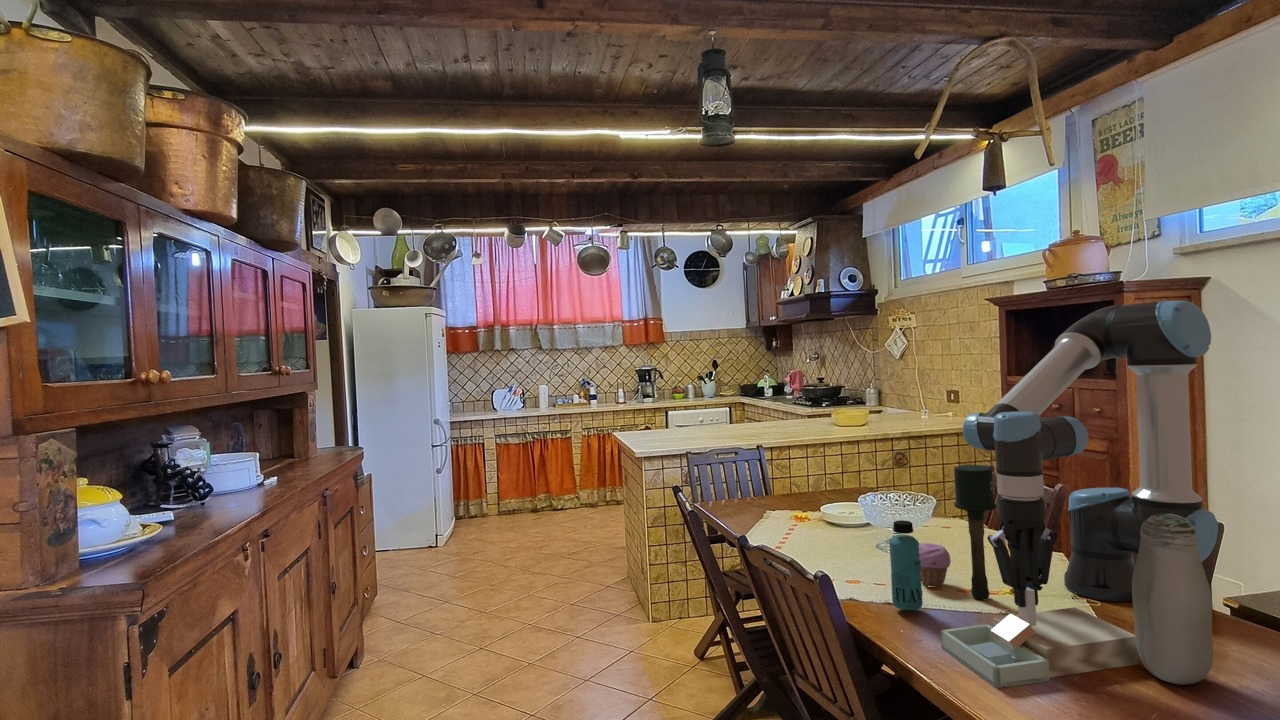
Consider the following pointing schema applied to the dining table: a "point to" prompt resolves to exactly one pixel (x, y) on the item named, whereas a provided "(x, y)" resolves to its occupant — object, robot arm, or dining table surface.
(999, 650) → the tile slate
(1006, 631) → the tile terracotta
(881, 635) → the dining table surface
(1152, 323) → the robot arm
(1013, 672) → the tray
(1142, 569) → the grey tall rounded cylinder
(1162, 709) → the dining table surface
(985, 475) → the potato masher grenade
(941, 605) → the dining table surface
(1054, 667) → the board
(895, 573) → the beverage bottle
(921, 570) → the cupcake
